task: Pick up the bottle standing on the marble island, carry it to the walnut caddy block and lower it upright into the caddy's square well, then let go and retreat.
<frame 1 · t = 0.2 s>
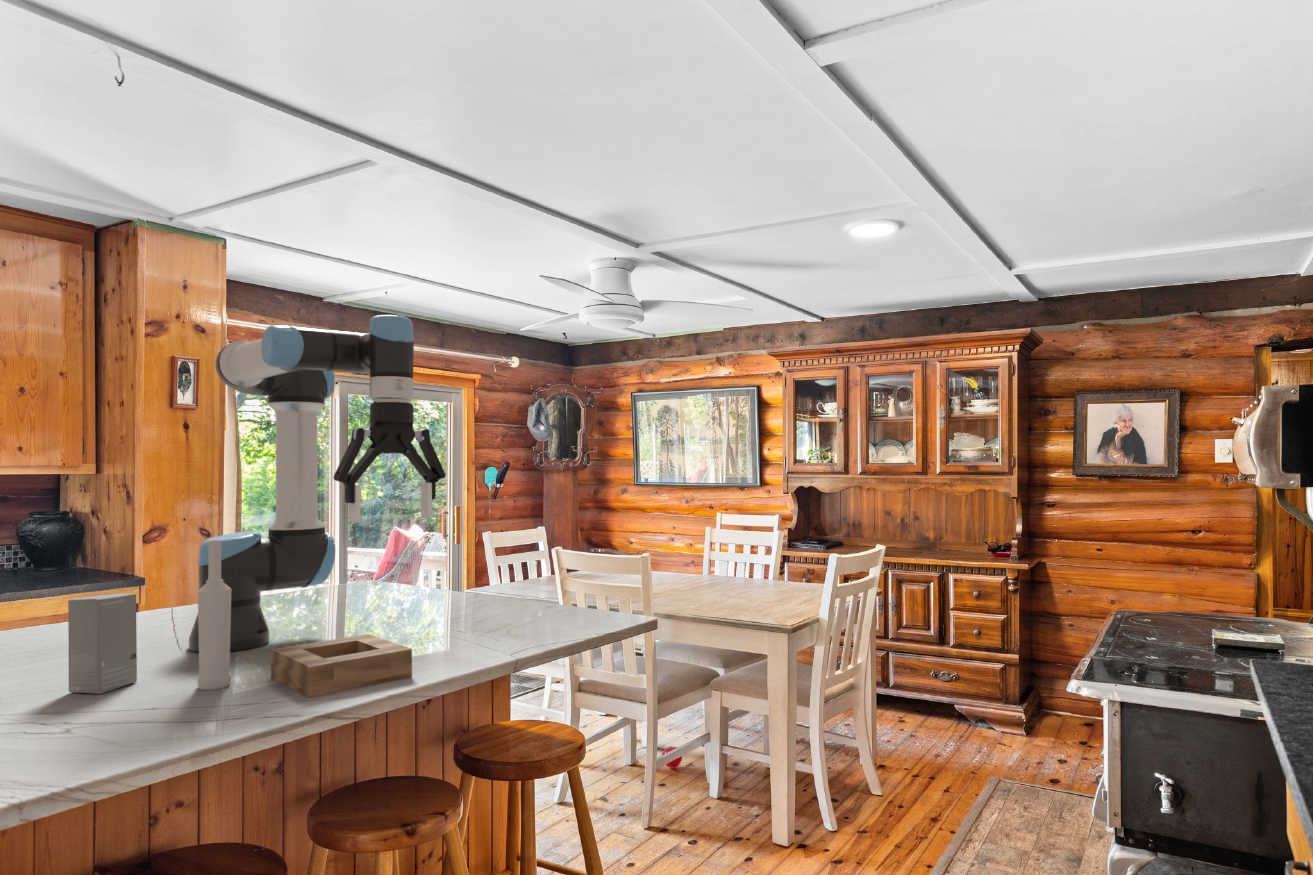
hand: (391, 520, 149), 28 cm above the counter, fingers open, 13 cm apart
caddy: (341, 677, 148), on the counter
bottle: (214, 687, 143), on the counter
skincare box: (102, 688, 143), on the counter
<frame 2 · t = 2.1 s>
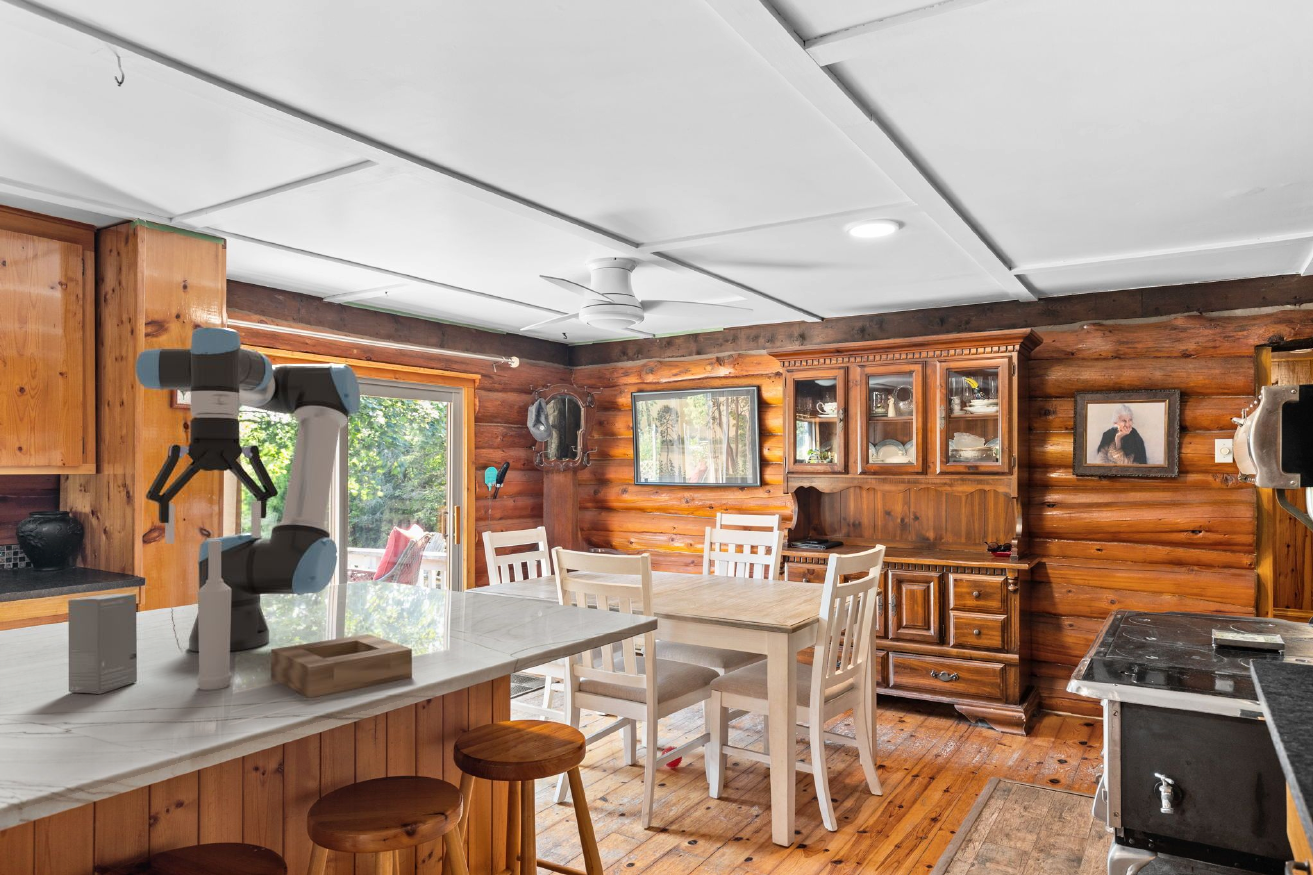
hand: (214, 540, 143), 25 cm above the counter, fingers open, 13 cm apart
nothing on the counter moved.
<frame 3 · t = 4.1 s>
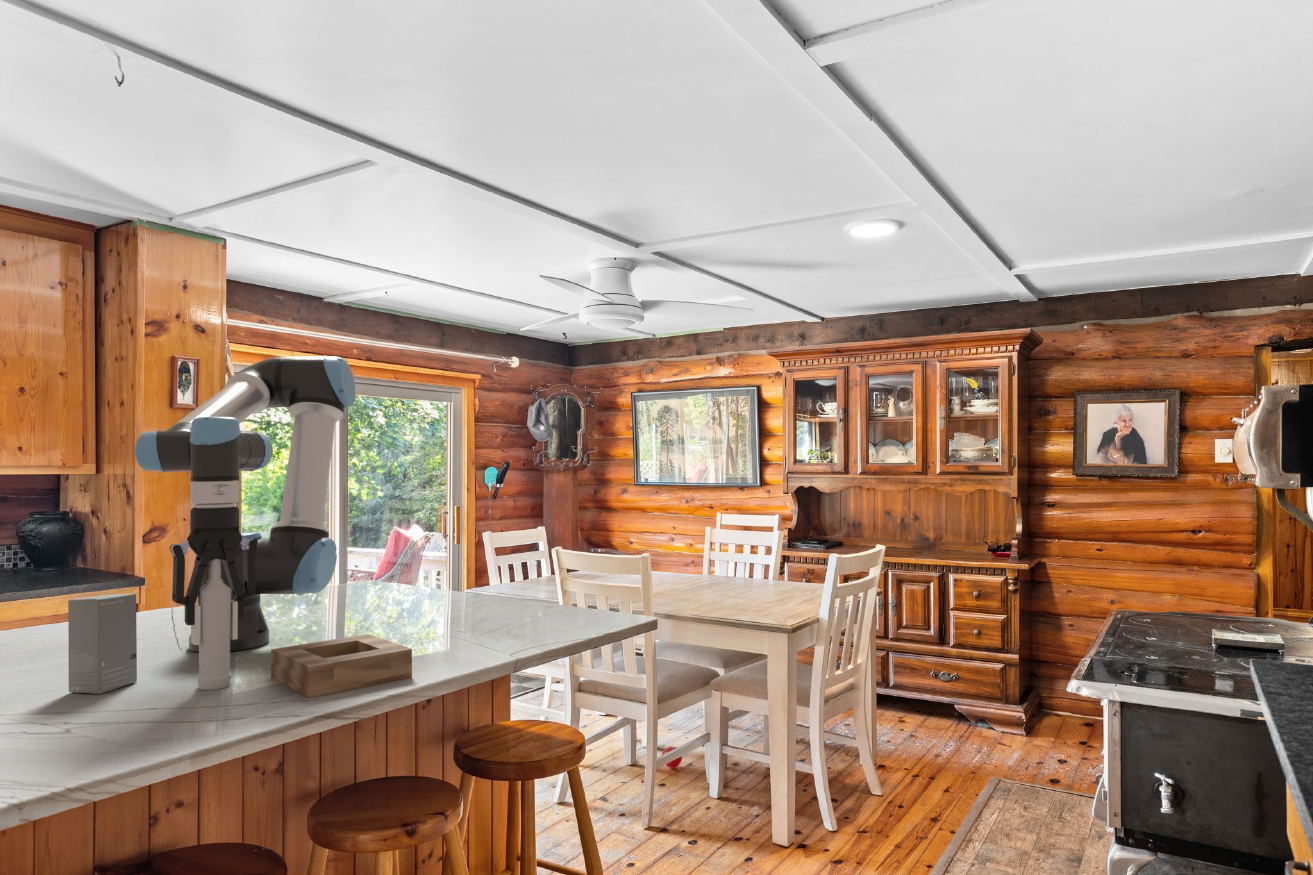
hand: (214, 640, 143), 8 cm above the counter, fingers closed on bottle, 5 cm apart
bottle: (214, 687, 143), on the counter, touching gripper
everything else where it was.
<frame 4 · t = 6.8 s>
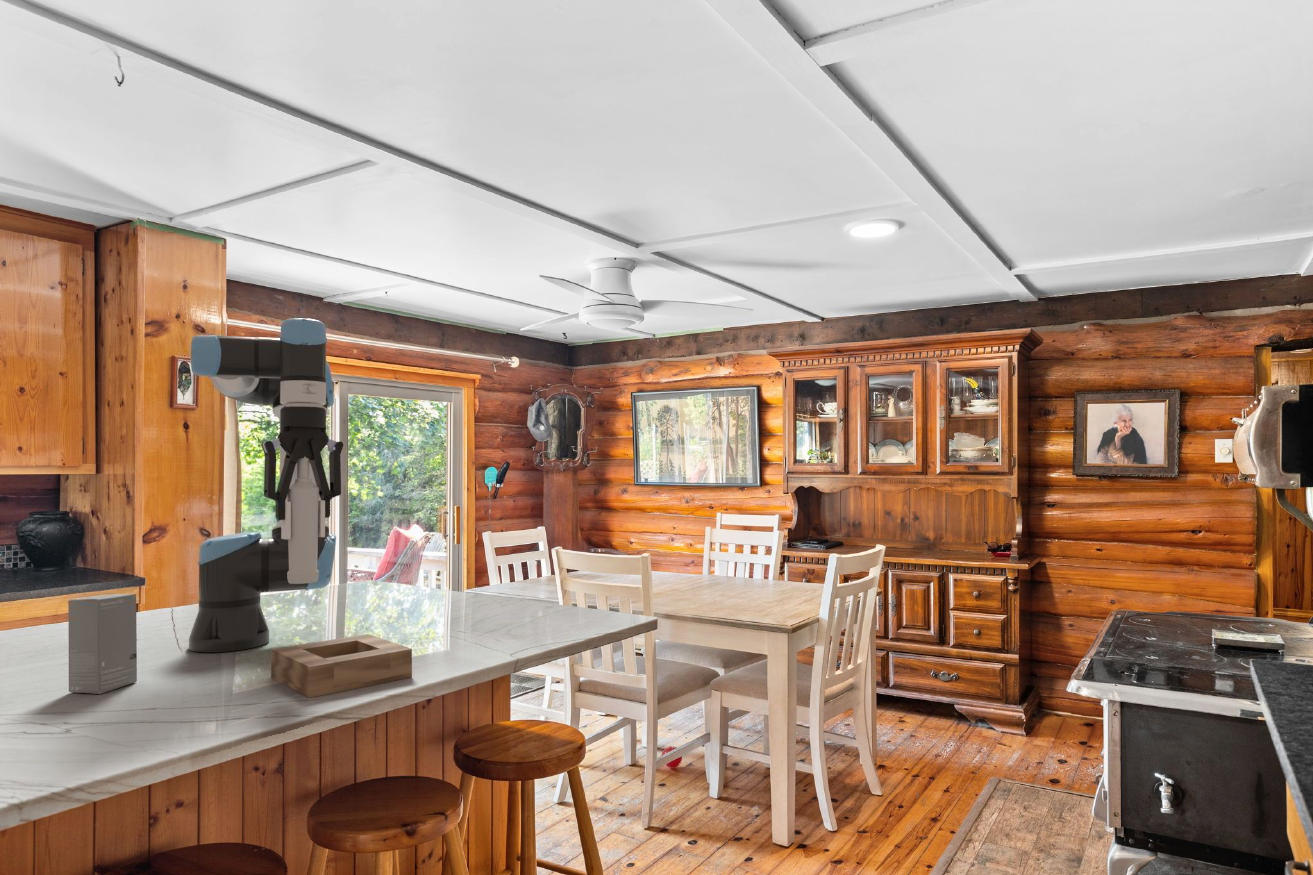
hand: (303, 537, 147), 25 cm above the counter, fingers closed on bottle, 5 cm apart
bottle: (303, 583, 146), point 17 cm above the counter, touching gripper
everything else where it was.
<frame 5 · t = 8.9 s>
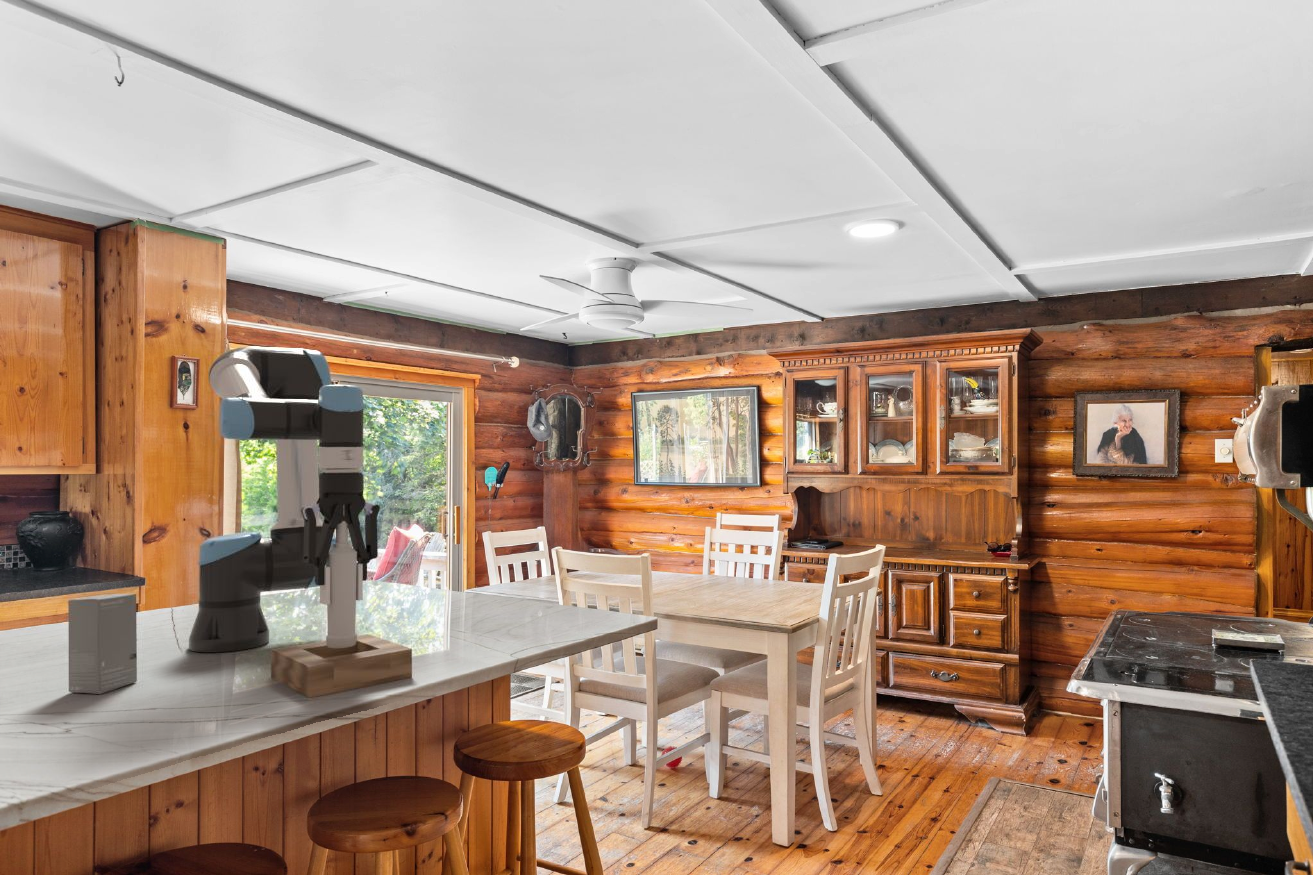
hand: (341, 601, 148), 14 cm above the counter, fingers closed on bottle, 5 cm apart
bottle: (341, 646, 148), point 5 cm above the counter, touching gripper
everything else where it was.
when the fingers open (10 cm above the counter, at t = 9.8 s): bottle drops 1 cm, resting on caddy.
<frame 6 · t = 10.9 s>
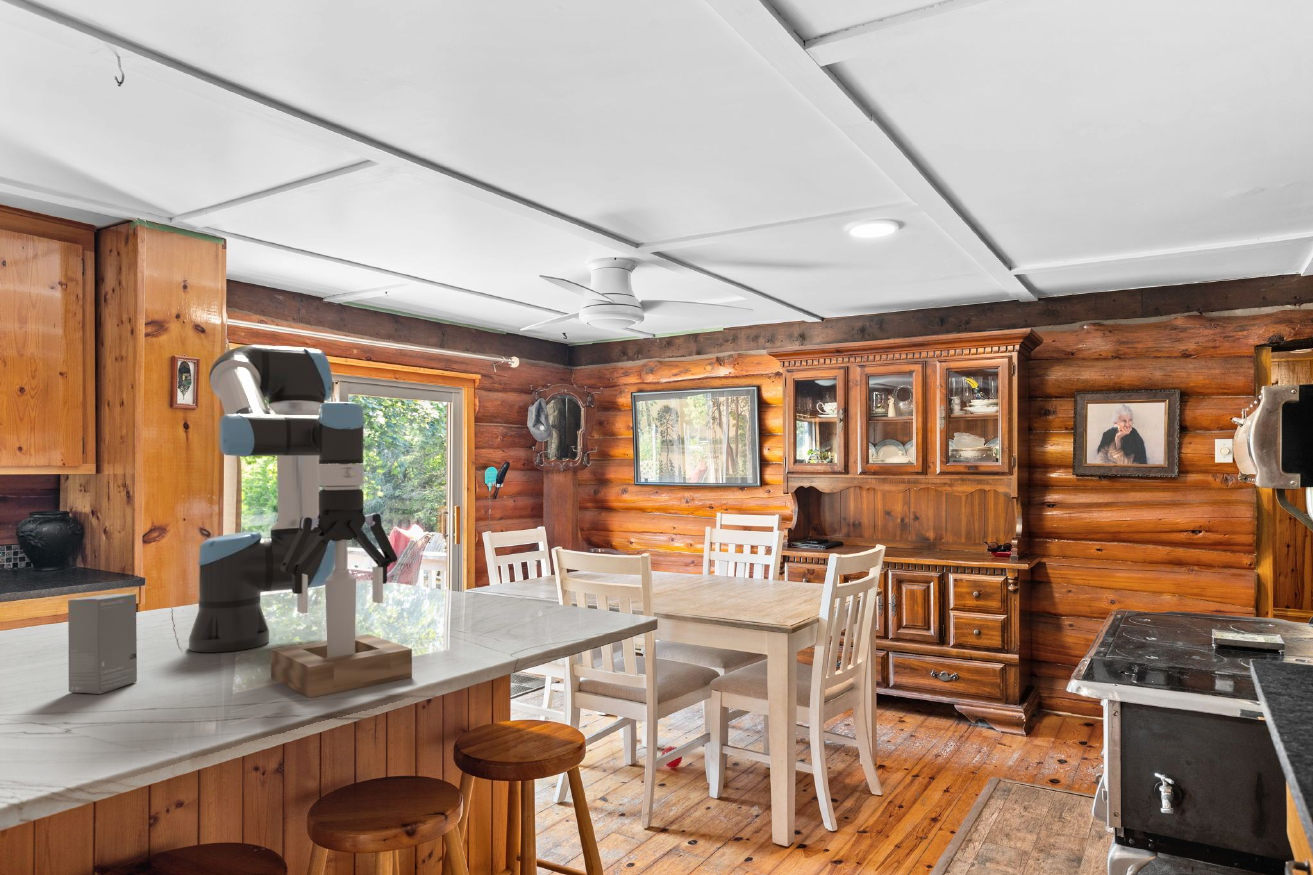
hand: (341, 607, 148), 12 cm above the counter, fingers open, 13 cm apart
bottle: (341, 672, 148), point 1 cm above the counter, touching caddy
everything else where it was.
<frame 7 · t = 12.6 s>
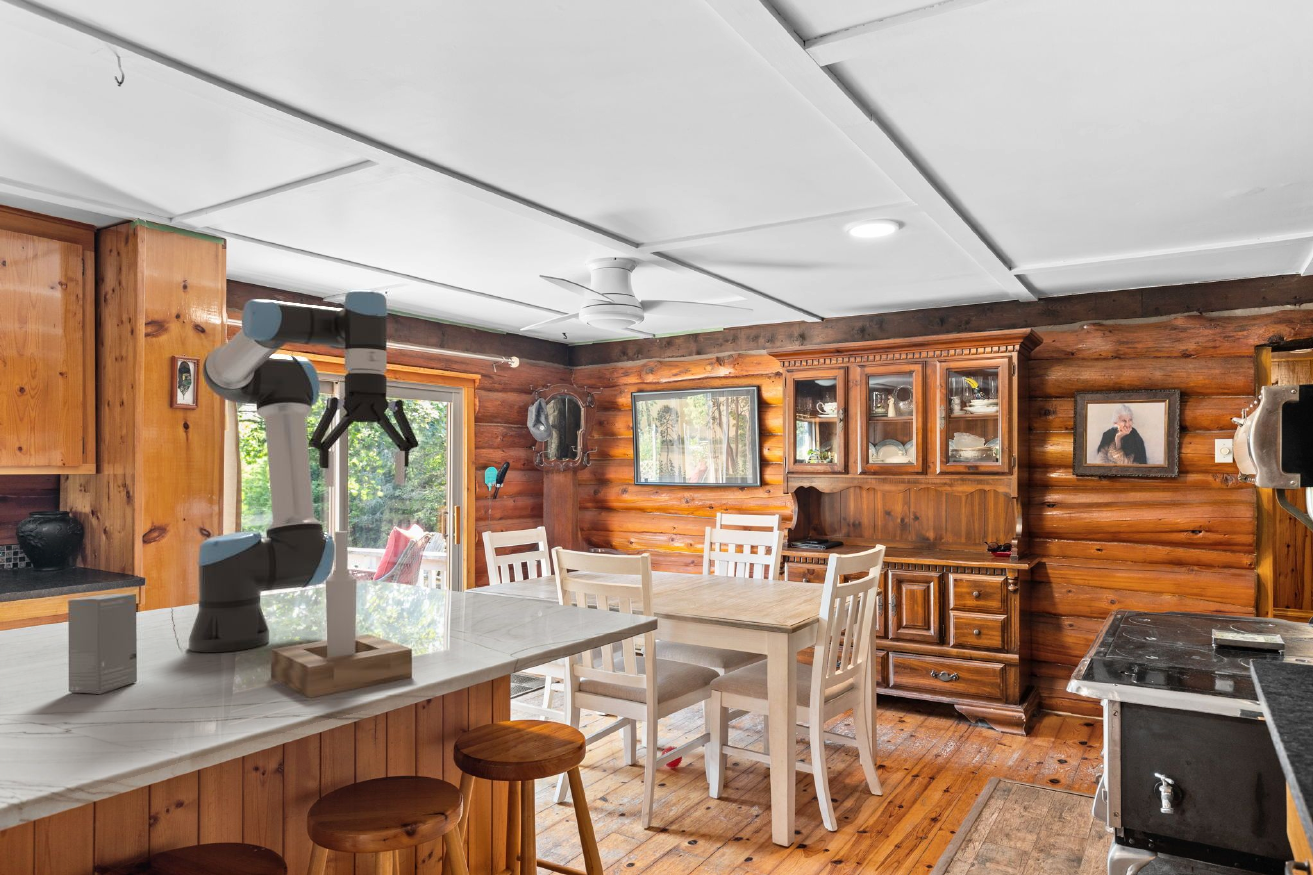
hand: (365, 485, 157), 34 cm above the counter, fingers open, 13 cm apart
nothing on the counter moved.
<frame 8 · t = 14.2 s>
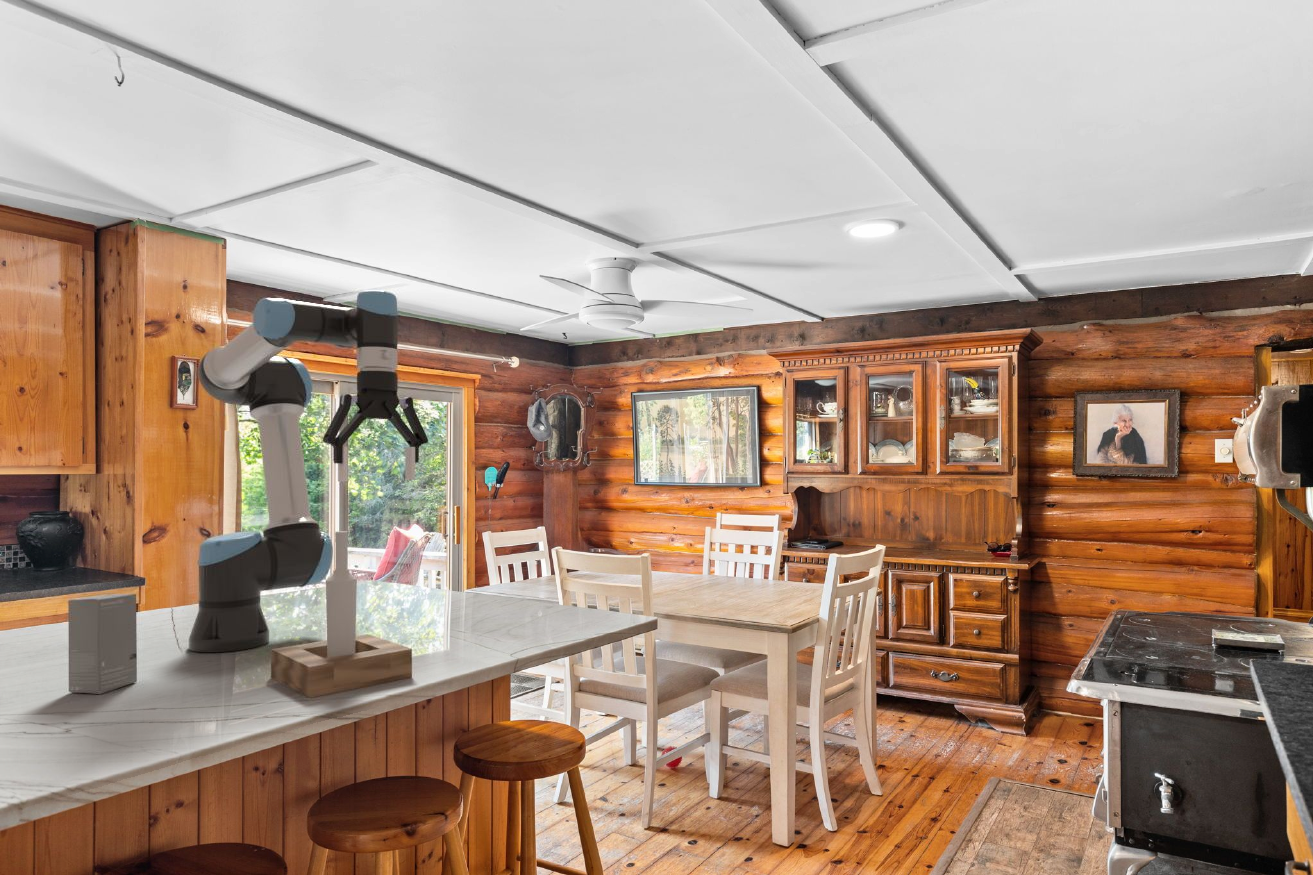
hand: (377, 480, 161), 35 cm above the counter, fingers open, 13 cm apart
nothing on the counter moved.
at the end: bottle inside the target area on the caddy (0.0 cm from its centre), point 0.7 cm above the caddy's base; bottle tilted 0°; the gripper is holding nothing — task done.
